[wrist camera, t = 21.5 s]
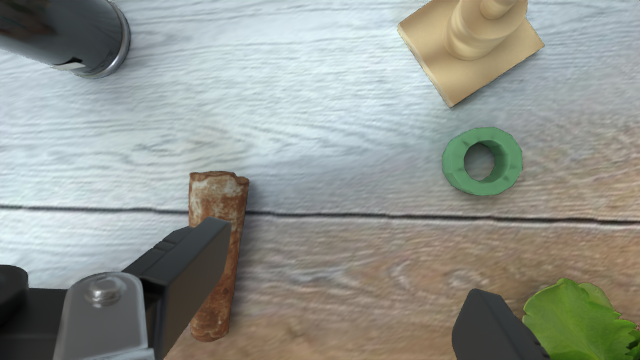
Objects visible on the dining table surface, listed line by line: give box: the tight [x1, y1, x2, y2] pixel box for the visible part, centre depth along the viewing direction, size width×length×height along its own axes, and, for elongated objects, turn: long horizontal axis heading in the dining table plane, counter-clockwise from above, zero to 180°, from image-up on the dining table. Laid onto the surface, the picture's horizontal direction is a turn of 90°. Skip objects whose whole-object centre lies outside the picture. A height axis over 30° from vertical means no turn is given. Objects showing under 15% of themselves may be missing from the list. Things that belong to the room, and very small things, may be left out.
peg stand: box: [397, 0, 545, 108], centre depth 27 cm, size 10×10×11 cm
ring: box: [442, 127, 523, 196], centre depth 31 cm, size 6×6×3 cm
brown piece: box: [189, 171, 249, 342], centre depth 34 cm, size 6×19×6 cm, turn 172°
